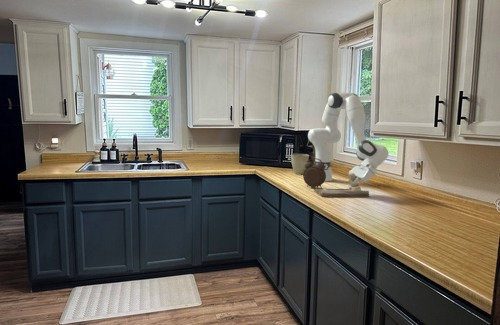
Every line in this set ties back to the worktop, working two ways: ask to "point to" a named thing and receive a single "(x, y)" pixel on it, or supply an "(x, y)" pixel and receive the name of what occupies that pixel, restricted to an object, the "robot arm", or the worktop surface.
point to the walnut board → (341, 193)
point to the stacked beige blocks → (353, 186)
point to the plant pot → (299, 162)
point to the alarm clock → (314, 174)
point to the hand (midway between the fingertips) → (350, 182)
